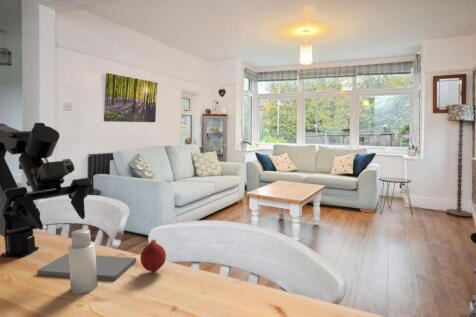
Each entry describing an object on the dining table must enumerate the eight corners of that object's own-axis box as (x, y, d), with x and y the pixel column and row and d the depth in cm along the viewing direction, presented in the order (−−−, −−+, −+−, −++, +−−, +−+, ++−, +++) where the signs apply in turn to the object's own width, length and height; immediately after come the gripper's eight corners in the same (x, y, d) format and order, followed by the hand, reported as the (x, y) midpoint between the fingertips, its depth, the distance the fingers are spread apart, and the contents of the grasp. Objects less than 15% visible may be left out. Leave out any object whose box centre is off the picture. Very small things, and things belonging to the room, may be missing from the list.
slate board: (37, 274, 76) (37, 270, 75) (66, 257, 85) (66, 253, 85) (115, 280, 72) (115, 276, 72) (136, 261, 82) (136, 257, 82)
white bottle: (65, 292, 67) (61, 235, 66) (81, 281, 72) (77, 227, 71) (87, 294, 66) (84, 236, 65) (102, 282, 71) (99, 228, 70)
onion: (159, 279, 73) (158, 245, 72) (136, 276, 74) (135, 243, 73) (170, 267, 78) (169, 236, 78) (148, 266, 80) (147, 235, 79)
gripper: (-1, 151, 66) (25, 211, 61) (86, 146, 81) (114, 193, 76) (-11, 185, 72) (13, 242, 66) (73, 174, 86) (97, 220, 81)
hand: (63, 223), depth 72 cm, fingers open, 9 cm apart
